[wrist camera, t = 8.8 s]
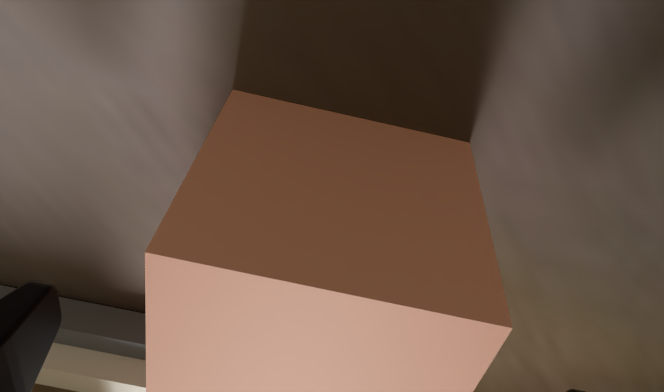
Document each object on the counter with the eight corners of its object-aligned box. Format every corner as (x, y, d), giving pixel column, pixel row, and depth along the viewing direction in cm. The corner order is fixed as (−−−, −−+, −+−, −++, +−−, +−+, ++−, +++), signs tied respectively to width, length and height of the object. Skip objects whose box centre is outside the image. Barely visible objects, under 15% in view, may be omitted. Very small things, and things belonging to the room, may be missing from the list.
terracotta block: (469, 140, 11) (513, 327, 7) (402, 299, 14) (407, 495, 10) (233, 88, 11) (145, 252, 7) (215, 260, 14) (146, 445, 10)
